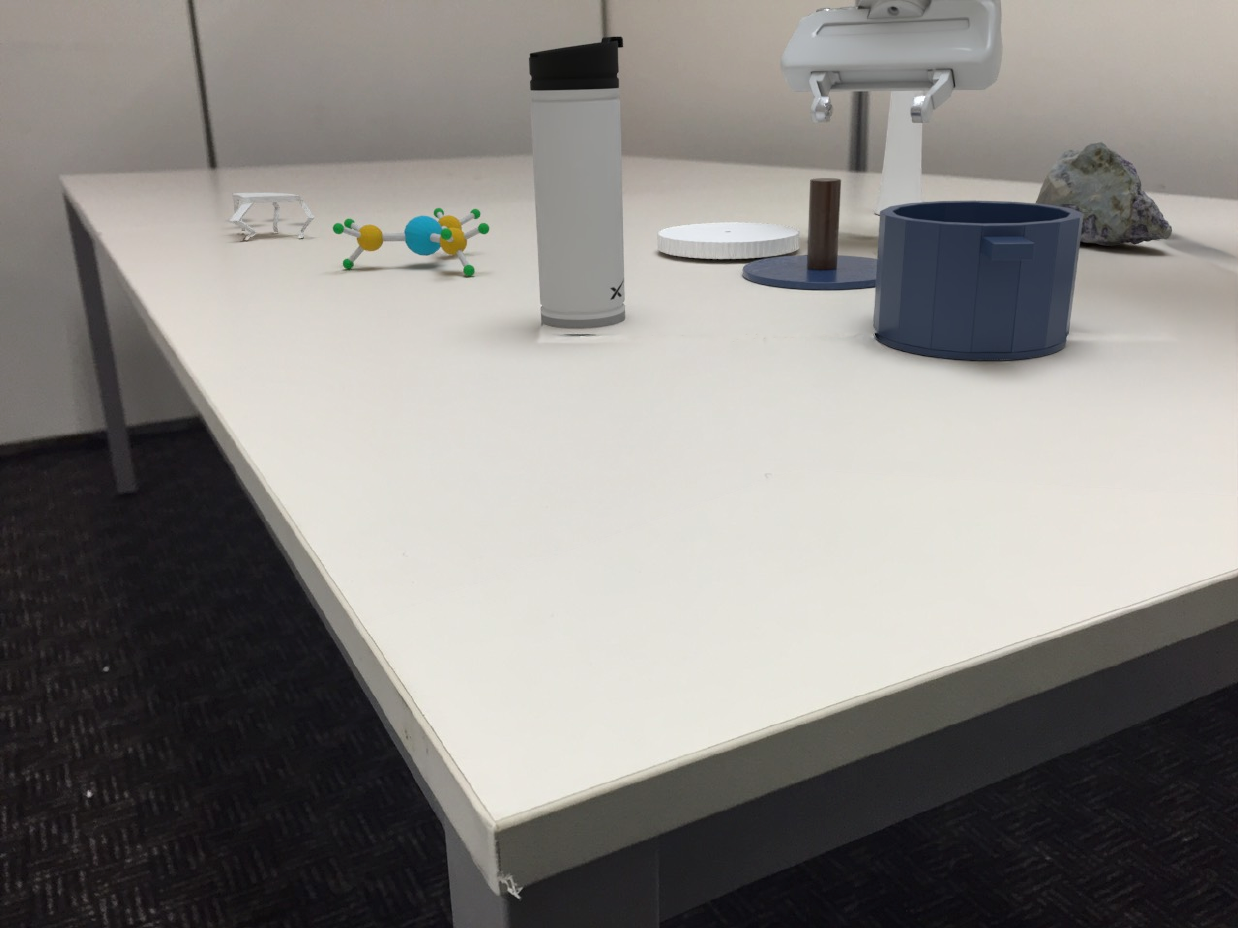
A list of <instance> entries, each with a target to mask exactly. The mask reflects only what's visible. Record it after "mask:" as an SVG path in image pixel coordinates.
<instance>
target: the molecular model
mask: <svg viewBox="0 0 1238 928" xmlns="http://www.w3.org/2000/svg"><path fill="white" fill-rule="evenodd" d="M433 215H434V217H435V218H434V217H431V216H429V215H418V216H414V217H413V218H412V219H410V220H409V221H408V223H407V224H406V225H405V228H404V231H403V232H388V233H387V232H383V231H382V229H380V228H379V227H378V226H376V225H375V224H365V225H362V226H360V225H358V224H357V223H356V221H355V220H354V219H353V218H346V219H345V220H344V222H343V224H342V223H340V222H336V223H334V224H333V226H332V231H333V233H334V234H336V235H342V234H346V235H348V236H351V237H355V238H356V242H357V244H358V247H357V248H356V249H355V250H354V251H353V252H352V254H351V255H350V256H349V257H347V258H345V259H343V260H342V266H343V268H344V269H346V270H351V269H353V268H354V266H355V261H356V260H357V259H358V258H359V256H360V255H361V254H362V253H363V252H364V251H367V252H375V251H377V250H378V251H379V249H380V248H381V247H382V246H383V244H384V242H404V243H405V244H406V246H407V248H408V249H409V250H410V251H411V252H412V253H414V254H415V255H418V256H425V257H426V256H431V255H434V254H435V253H437V252H438V251H439V250H440V249H442V252H444V253H445V254H447V255H450V256H457V258H458V260H459V261H460V263H461V265H462V267H463V271H462V272H463V274H464V275H465V276H467V277H471V276H473V275H474V274H475V272H476V271H475V267H474V266H473V265H472V264H470V263H469V261H468V259H467V257H466V255H465V254H464V251H465V250H466V249H467V245H468V240H469V239H472V238H473V237H475V236H477V235H479V234H480V235H487V234H488V233H489V232H490V226H489V224H488V223H486V222H480V223H479V224H478V226H477V227H475V228H473V229H471V230H469V231H466V232H464V231H463V230H462V229H463V227H462V226H464V224H466V223H468V222H470V221H473V220H478V219H479V218H480V217H481V211H480V209H478V208H473V209H471V210H470V212H469V214H467V215H466V216H463V217H461V218H460V219H458V218H457V217H456V216H454V215H451V214H450V215H449V214H448V215H445V211H444V209H442V208H441V207H436V208H435V209H434V210H433ZM436 219H438V220H436Z"/></svg>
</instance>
